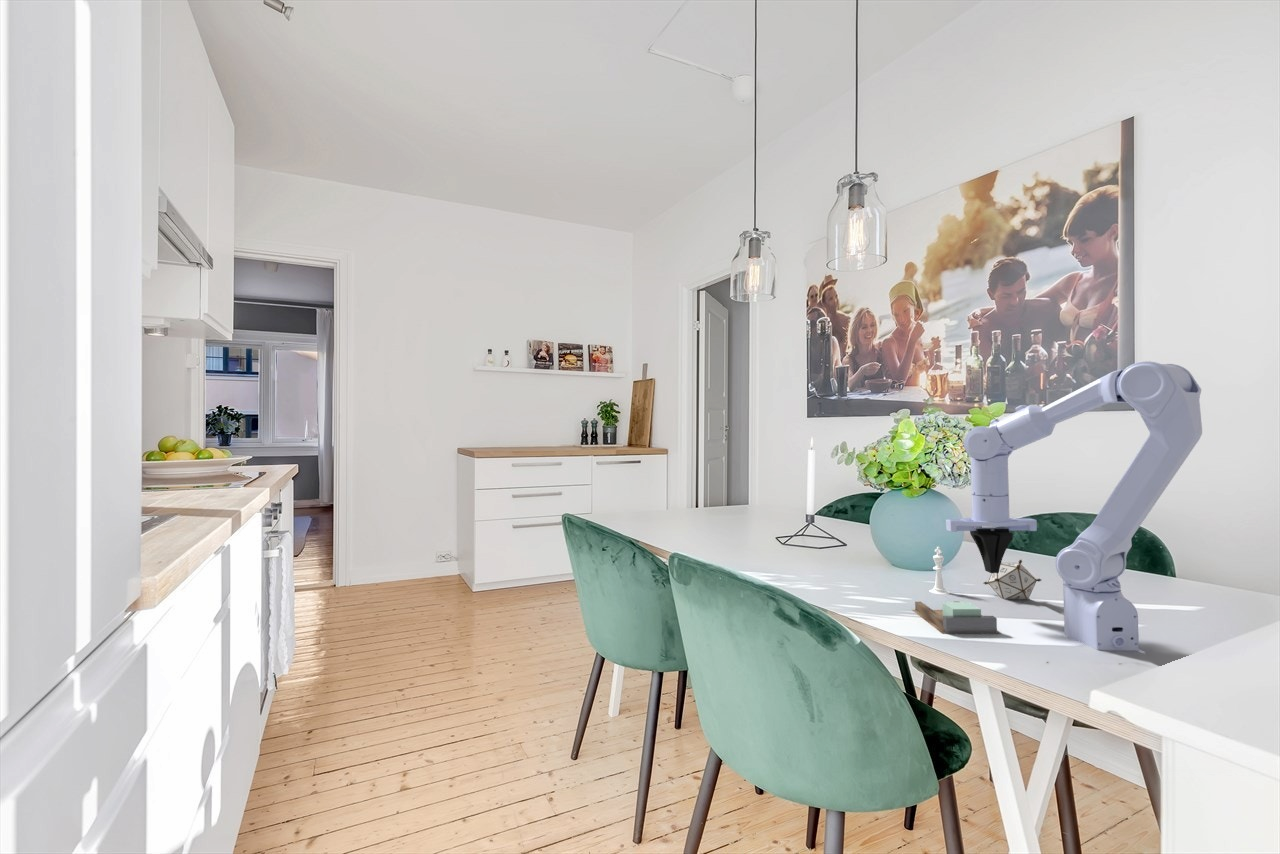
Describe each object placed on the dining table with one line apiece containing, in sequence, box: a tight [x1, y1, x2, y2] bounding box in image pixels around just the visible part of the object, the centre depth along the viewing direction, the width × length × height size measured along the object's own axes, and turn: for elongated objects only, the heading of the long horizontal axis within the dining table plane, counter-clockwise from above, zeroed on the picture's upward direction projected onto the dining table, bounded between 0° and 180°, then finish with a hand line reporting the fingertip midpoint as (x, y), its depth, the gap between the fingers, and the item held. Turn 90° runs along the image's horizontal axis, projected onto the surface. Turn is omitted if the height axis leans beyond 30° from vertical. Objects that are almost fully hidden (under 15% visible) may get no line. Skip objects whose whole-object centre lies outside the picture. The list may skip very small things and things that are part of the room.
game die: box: [982, 559, 1042, 600], centre depth 117 cm, size 9×8×10 cm
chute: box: [911, 600, 1001, 635], centre depth 103 cm, size 13×9×4 cm
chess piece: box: [928, 546, 951, 595], centre depth 122 cm, size 5×5×10 cm
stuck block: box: [941, 601, 982, 616], centre depth 100 cm, size 4×4×4 cm
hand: (991, 571), depth 107 cm, fingers closed
